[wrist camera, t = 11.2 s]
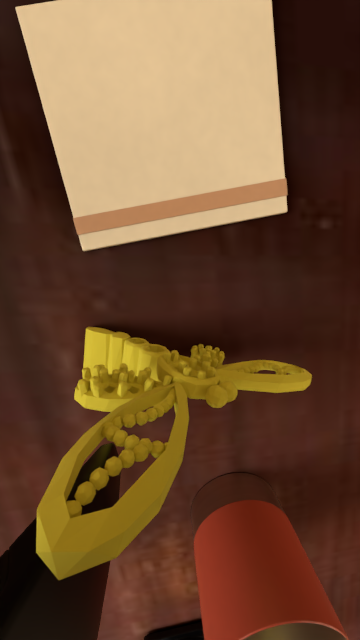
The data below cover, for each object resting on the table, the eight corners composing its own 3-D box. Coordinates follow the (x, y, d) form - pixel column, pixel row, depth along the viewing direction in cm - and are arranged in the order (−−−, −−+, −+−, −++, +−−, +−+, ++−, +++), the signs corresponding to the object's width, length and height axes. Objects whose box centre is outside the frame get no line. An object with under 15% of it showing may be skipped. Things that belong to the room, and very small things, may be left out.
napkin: (265, -24, 11) (270, -38, 10) (284, 213, 13) (288, 211, 12) (20, 16, 10) (13, 3, 10) (84, 251, 13) (81, 251, 12)
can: (272, 463, 17) (395, 682, 8) (280, 531, 18) (391, 779, 9) (182, 483, 16) (205, 731, 8) (198, 550, 18) (232, 821, 9)
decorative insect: (183, 316, 19) (320, 363, 12) (177, 354, 20) (303, 417, 13) (-32, 329, 10) (59, 550, 3) (-30, 400, 10) (51, 708, 4)
